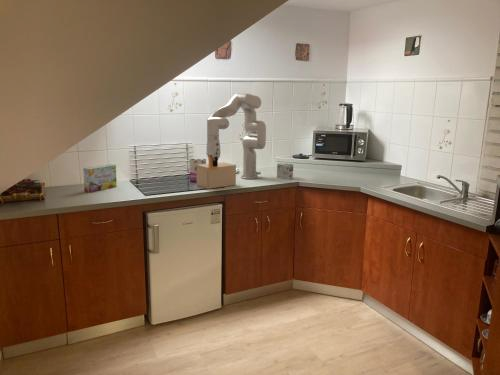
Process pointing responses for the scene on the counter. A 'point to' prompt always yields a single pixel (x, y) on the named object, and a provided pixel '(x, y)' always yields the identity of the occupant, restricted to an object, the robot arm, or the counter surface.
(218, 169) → the flap
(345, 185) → the counter surface
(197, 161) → the candy bar box
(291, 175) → the light bulb box
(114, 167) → the snack box
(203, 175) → the carton
